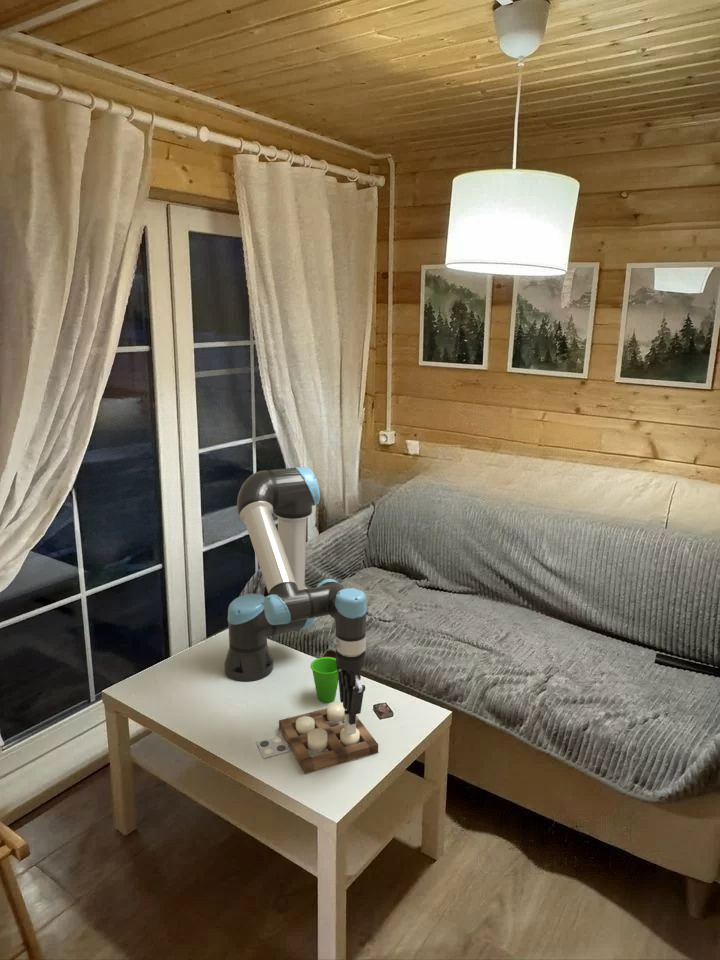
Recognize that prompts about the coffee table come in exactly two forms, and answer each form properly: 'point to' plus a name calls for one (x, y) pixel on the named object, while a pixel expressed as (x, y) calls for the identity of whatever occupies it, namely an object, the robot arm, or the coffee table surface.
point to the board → (334, 746)
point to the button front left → (349, 738)
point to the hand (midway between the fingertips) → (350, 732)
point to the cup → (325, 678)
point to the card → (272, 747)
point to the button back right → (304, 725)
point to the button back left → (335, 712)
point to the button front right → (317, 739)
